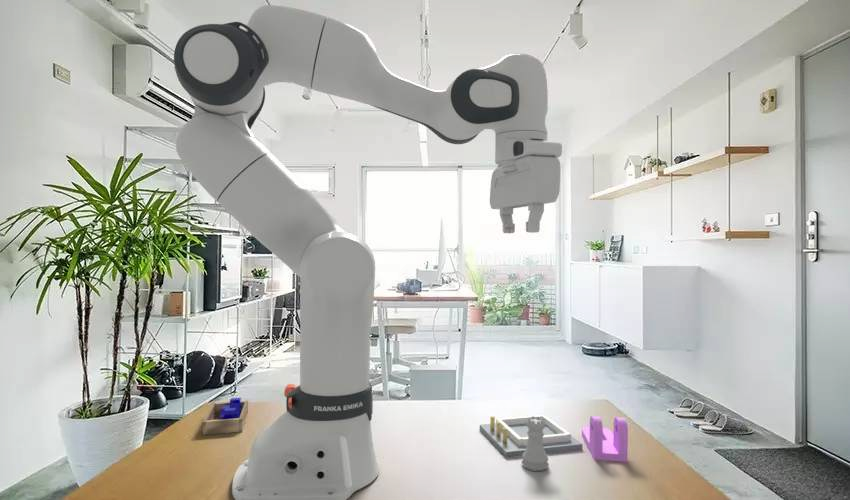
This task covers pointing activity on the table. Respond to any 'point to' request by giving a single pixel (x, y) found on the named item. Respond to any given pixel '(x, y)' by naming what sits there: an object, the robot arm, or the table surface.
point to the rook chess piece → (535, 446)
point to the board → (514, 436)
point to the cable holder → (232, 409)
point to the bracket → (607, 440)
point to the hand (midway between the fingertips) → (519, 232)
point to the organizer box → (223, 420)
